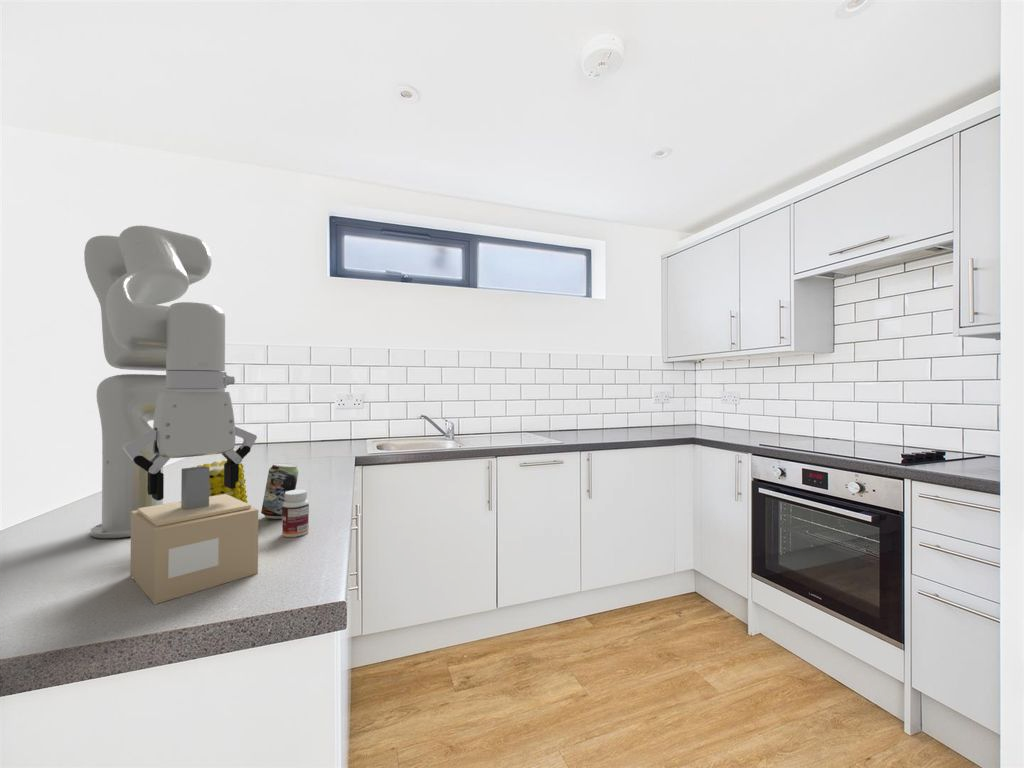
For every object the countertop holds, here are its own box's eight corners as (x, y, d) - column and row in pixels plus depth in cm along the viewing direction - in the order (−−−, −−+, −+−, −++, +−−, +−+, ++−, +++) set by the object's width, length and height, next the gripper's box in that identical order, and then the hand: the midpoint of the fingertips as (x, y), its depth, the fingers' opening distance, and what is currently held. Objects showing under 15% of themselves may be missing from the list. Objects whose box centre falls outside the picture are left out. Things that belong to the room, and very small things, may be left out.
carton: (130, 575, 69) (130, 510, 69) (225, 551, 79) (225, 494, 79) (154, 604, 60) (155, 529, 60) (258, 573, 70) (258, 509, 70)
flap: (137, 511, 68) (137, 469, 68) (225, 496, 78) (226, 459, 78) (156, 526, 61) (157, 479, 61) (251, 508, 71) (251, 467, 71)
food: (257, 538, 90) (200, 556, 82) (229, 516, 97) (174, 530, 88) (263, 468, 88) (205, 479, 80) (234, 449, 94) (178, 458, 86)
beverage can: (257, 517, 100) (258, 463, 100) (292, 510, 105) (293, 460, 105) (265, 523, 95) (266, 467, 95) (301, 516, 100) (302, 463, 100)
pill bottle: (283, 531, 90) (283, 490, 90) (309, 528, 92) (309, 488, 92) (280, 539, 86) (281, 495, 86) (308, 536, 88) (308, 493, 88)
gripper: (247, 383, 79) (246, 480, 79) (118, 382, 65) (117, 500, 65) (265, 383, 74) (264, 486, 74) (130, 382, 61) (129, 508, 60)
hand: (195, 492), depth 70 cm, fingers open, 9 cm apart
